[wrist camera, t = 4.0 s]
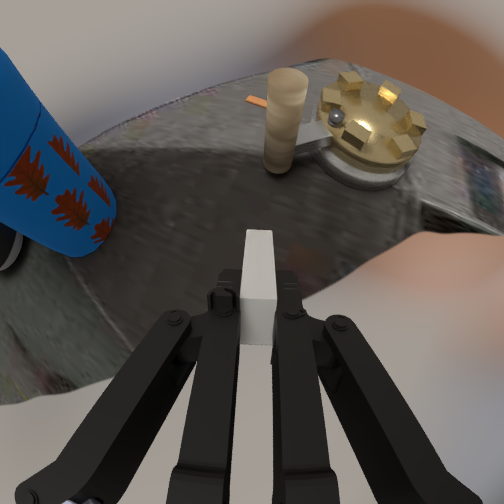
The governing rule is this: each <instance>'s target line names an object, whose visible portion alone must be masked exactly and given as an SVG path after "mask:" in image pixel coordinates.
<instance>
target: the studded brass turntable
mask: <svg viewBox="0 0 504 504" xmlns="http://www.w3.org/2000/svg"><path fill="white" fill-rule="evenodd" d="M307 87H308V78H307V77H306V75H305V74H303V73H302V72H300V71H298V70H296V69H292V68H279V69H275V70H273V71H272V72H271V73H270V74H269V76H268V90H267V109H266V127H265V145H264V166H265V168H266V169H267V170H268V171H270V172H272V173H275V174H282V173H285V172H287V171H288V170H289V169H290V167H291V165H292V160H293V155H297V154H300V153H304V152H307V151H310V150H314V149H318V148H321V147H325V146H327V148H328V149H329V150H330V151H331V152H332V153H333V154H335V155H336V156H337V157H338V158H339V159H341V160H342V161H344V162H345V163H347V164H349V165H351V166H353V167H355V168H357V169H359V170H362V171H365V172H369V173H374V174H389V173H393V172H396V171H398V170H400V169H402V168H403V167H404V166H405V165H406V164H407V163H408V161H409V160H410V159H411V158H412V156H413V155H414V154H415V153H416V151H417V150H418V148H419V146H420V144H421V136H422V134H423V133H424V132H425V130H426V129H427V128H426V124H425V121H424V117H423V114H420V113H417V112H414V111H411V110H410V109H409V108H408V106H407V105H406V104H405V103H404V102H403V101H402V100H400V99H399V98H398V97H399V95H400V93H401V91H402V90H401V89H400V88H398V87H397V86H395V85H394V84H392V83H390V82H389V81H387V80H386V81H385V82H384V83H383V84H382V86H381V87H380V86H378V85H375V84H373V83H370V82H366V81H363V79H362V78H361V77H360V76H359V75H358V74H357V73H356V72H355V71H352V72H342V73H339V76H338V80H337V82H334V83H332V84H330V85H329V86H327V87H326V88H322V92H321V96H320V101H319V105H318V108H317V112H316V118H315V122H311V123H306V124H302V125H300V122H301V117H302V112H303V107H304V102H305V97H306V92H307Z"/></svg>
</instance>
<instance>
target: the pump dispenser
mask: <svg viewBox="0 0 504 504" xmlns="http://www.w3.org/2000/svg"><path fill="white" fill-rule="evenodd" d="M22 242H23V234H21V233H19V232H18V231H16V230H14V229H12V228H10V227H9V226H7V225H5V224H3V223H1V222H0V271H1V270H4V269H6V268H8V267H9V266H10V265H11V264H12V263H13V262H14V261H15V260H16V258H17V256H18V254H19V252H20V250H21V246H22Z"/></svg>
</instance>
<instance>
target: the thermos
mask: <svg viewBox="0 0 504 504" xmlns="http://www.w3.org/2000/svg"><path fill="white" fill-rule="evenodd" d="M115 217H116V200H115V197H114V195H113V192H112V190H111V189H110V188H109V186H108V185H107V184H106V182H105V181H104V180H103V178H102V177H101V175H100V174H99V173H98V172H97V171H96V170H95V168H94V167H93V166H92V165H91V164H90V163H89V161H88V160H87V159H86V158H85V157H84V155H83V154H82V153H81V152H80V151H79V150H78V148H77V147H76V146H75V145H74V143H73V142H72V141H71V140H70V139H69V137H68V136H67V135H66V134H65V133H64V131H63V130H62V129H61V128H60V127H59V125H58V124H57V122H56V121H55V120H54V119H53V117H52V116H51V115H50V114H49V112H48V111H47V110H46V109H45V107H44V106H43V105H42V103H41V102H40V101H39V99H38V98H37V96H36V95H35V94H34V92H33V91H32V90H31V88H30V87H29V86H28V84H27V83H26V82H25V80H24V79H23V77H22V76H21V74H20V73H19V71H18V70H17V69H16V67H15V66H14V64H13V63H12V61H11V60H10V59H9V57H8V56H7V54H6V53H5V52H4V51H3V50H2V49H1V48H0V222H1V223H3V224H5V225H7V226H9V227H10V228H12V229H14V230H16V231H18V232H19V233H21V234H23V235H25V236H27V237H29V238H31V239H32V240H34V241H36V242H38V243H40V244H42V245H44V246H46V247H48V248H50V249H52V250H54V251H57V252H59V253H62V254H64V255H67V256H70V257H83V256H85V255H87V254H89V253H91V252H94V251H95V250H96V249H97V248H98V247H99V246H100V245H101V244H102V243H103V242H104V241H105V240H106V238H107V236H108V235H109V233H110V231H111V230H112V227H113V224H114V220H115Z"/></svg>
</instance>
